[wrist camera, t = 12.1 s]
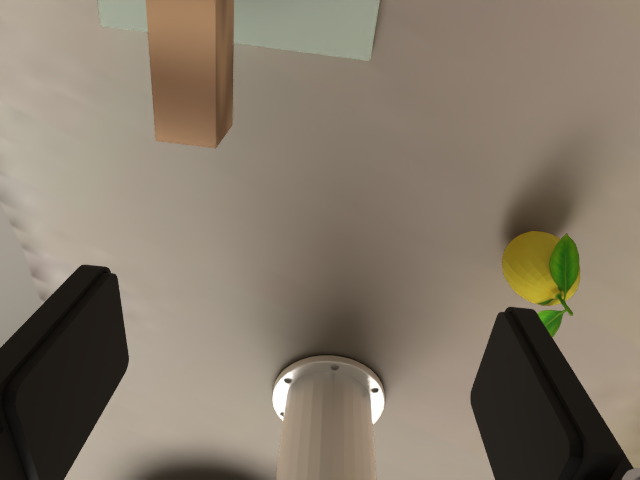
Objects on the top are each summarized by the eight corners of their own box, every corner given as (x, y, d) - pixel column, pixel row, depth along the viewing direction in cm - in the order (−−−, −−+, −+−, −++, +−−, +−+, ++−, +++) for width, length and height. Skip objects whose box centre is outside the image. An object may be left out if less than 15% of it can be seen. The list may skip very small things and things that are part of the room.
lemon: (510, 285, 43) (553, 363, 34) (473, 248, 41) (508, 320, 33) (575, 242, 41) (638, 315, 32) (538, 200, 39) (595, 265, 30)
